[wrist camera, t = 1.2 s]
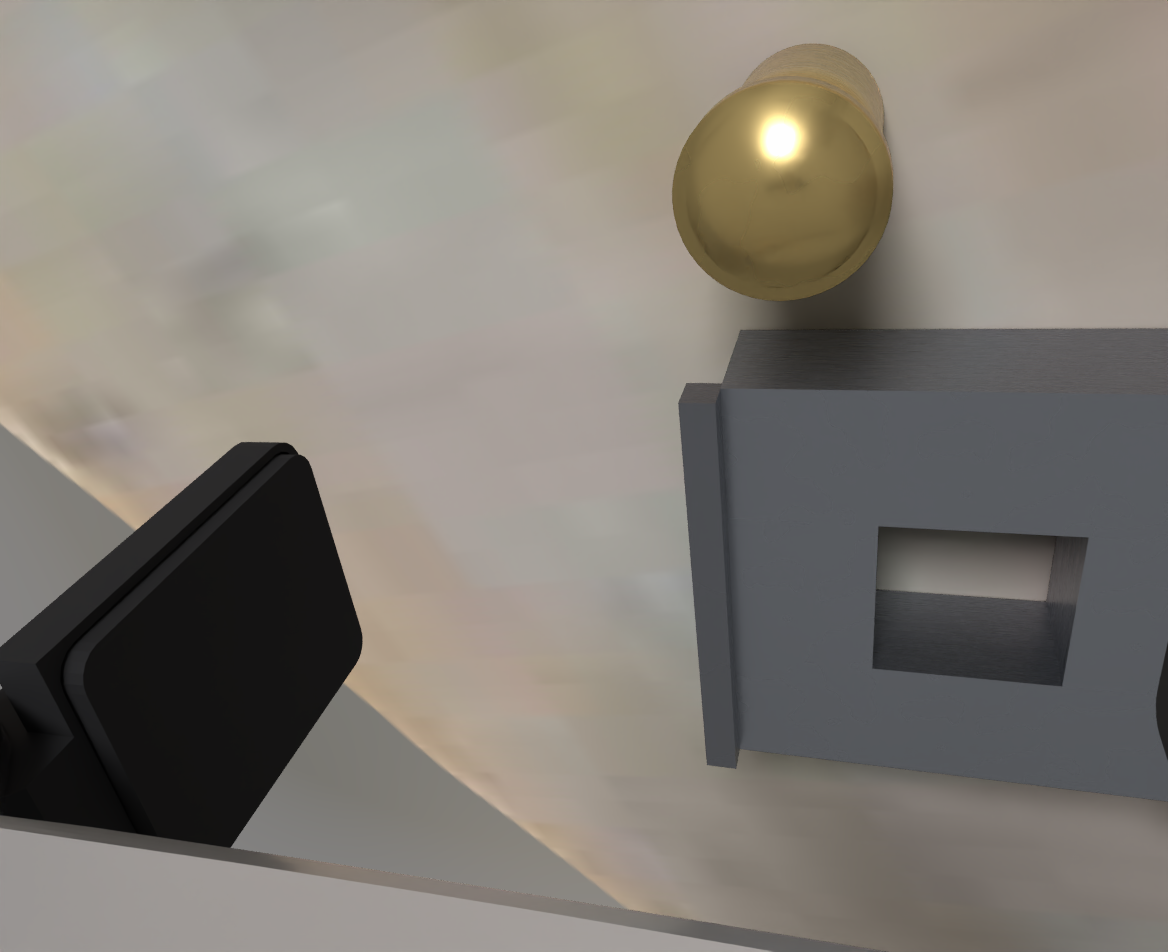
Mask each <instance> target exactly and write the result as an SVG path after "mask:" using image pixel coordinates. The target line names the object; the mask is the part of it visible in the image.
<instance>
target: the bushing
mask: <svg viewBox="0 0 1168 952" xmlns="http://www.w3.org/2000/svg"><path fill="white" fill-rule="evenodd" d="M883 123H884V108H883V102H882V97H881V94H880V91H879V88H878V86H877V83H876V81H875V79H874V78H873V76H872V75H871V73H870V72H869V70H868V69H867V68H866V67H865V66H864V65H863V64H862V63H861V62H860V61H859V60H858V59H857V58H855V57H854V56H852V55H851V54H849V53H847V52H846V51H844V50H841V49H839V48H837V47H833V46H829V45H824V44H802V45H796V46H793V47H789V48H786V49H784V50H782V51H779V52H777V53H775V54H774V55H772V56H771V57H769V58H767V59H766V60H765V61H764V62H762V63H761V64H760V65H759V66H758V67H757V68H756V69H755V70H754V71H753V72H752V73H751V75H750V76H749V77H748V79H747V80H746V82H745V83H744V84H743V86H742V87H741V88H739V89H737V90H735V91H734V92H732V93H730V94H729V95H727V96H726V97H724V98H723V99H722V100H721V101H719V102H718V103H717V104H716V105H715V106H714V107H713V108H712V109H711V110H710V111H709V112H708V113H707V114H706V115H705V116H704V117H703V119H702V120H701V121H700V123H699V124H698V125H697V127H696V128H695V129H694V131H693V132H692V133H691V135H690V136H689V138H688V140H687V142H686V144H685V145H684V147H683V149H682V152H681V154H680V157H679V159H678V162H677V166H676V170H675V174H674V180H673V188H672V201H673V210H674V217H675V221H676V224H677V228H678V231H679V233H680V236H681V238H682V241H683V243H684V244H685V246H686V248H687V250H688V251H689V253H690V255H691V256H692V257H693V258H694V260H695V261H696V262H697V264H698V265H699V266H700V267H701V268H702V269H703V270H704V271H705V272H706V273H707V274H708V275H710V276H711V277H712V278H713V279H715V280H716V281H717V282H719V283H720V284H722V285H724V286H725V287H727V288H729V289H731V290H733V291H735V292H738V293H740V294H743V295H746V296H749V297H752V298H757V299H763V300H772V301H786V300H796V299H802V298H807V297H810V296H813V295H816V294H819V293H822V292H824V291H826V290H828V289H831V288H833V287H835V286H836V285H838V284H839V283H841V282H843V281H844V280H846V279H847V278H848V277H849V276H851V275H852V274H853V273H854V272H856V271H857V270H858V269H859V268H860V267H861V266H862V265H863V263H864V262H865V261H866V260H867V259H868V258H869V256H870V255H871V254H872V252H873V251H874V250H875V248H876V246H877V244H878V243H879V241H880V239H881V237H882V235H883V233H884V230H885V228H886V225H887V223H888V219H889V215H890V211H891V206H892V197H893V166H892V160H891V154H890V151H889V148H888V144H887V141H886V139H885V137H884V135H883Z"/></svg>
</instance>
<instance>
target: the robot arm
mask: <svg viewBox="0 0 1168 952" xmlns="http://www.w3.org/2000/svg"><path fill="white" fill-rule="evenodd" d="M361 650H362V632H361V628H360V624H359V621H358V618H357V615H356V611H355V608H354V605H353V602H352V598H351V595H350V592H349V589H348V585H347V582H346V579H345V576H344V572H343V569H342V566H341V563H340V559H339V556H338V553H337V550H336V546H335V543H334V540H333V537H332V533H331V530H330V527H329V523H328V520H327V517H326V514H325V510H324V507H323V504H322V501H321V497H320V494H319V491H318V488H317V484H316V481H315V478H314V475H313V471H312V468H311V466H310V464H309V461H308V460H307V459H306V458H305V457H304V456H302V455H298V452H297V451H296V450H295V449H294V447H293V446H291V445H289V444H288V443H270V442H241V443H239V444H237V445H236V446H234V447H233V448H232V449H231V450H229V451H228V452H227V453H226V454H225V455H224V456H222V457H221V458H220V459H219V460H218V461H217V462H215V463H214V464H213V465H212V466H211V467H210V468H208V469H207V470H206V471H205V472H204V473H203V474H201V475H200V476H199V477H198V478H197V479H196V480H194V481H193V482H192V483H191V484H190V485H189V486H187V487H186V488H185V489H184V490H183V491H182V492H180V493H179V494H178V495H177V496H176V497H175V498H173V499H172V500H171V501H170V502H169V503H168V504H166V505H165V506H164V507H163V508H162V509H161V510H159V511H158V512H157V513H156V514H155V515H154V516H152V517H151V518H150V519H149V520H148V521H147V522H145V523H144V524H143V525H142V526H141V527H140V528H139V529H137V530H136V531H135V532H134V533H133V534H132V535H131V536H129V537H128V538H127V539H126V540H125V541H124V542H122V543H121V544H120V545H119V546H118V547H116V548H115V549H114V550H113V551H112V552H111V553H109V554H108V555H107V556H106V557H105V558H104V559H102V560H101V561H100V562H99V563H98V564H97V565H95V566H94V567H93V568H92V569H91V570H90V571H88V572H87V573H86V574H85V575H84V576H83V577H81V578H80V579H79V580H78V581H77V582H76V583H75V584H73V585H72V586H71V587H70V588H69V589H67V590H66V591H65V592H64V593H63V594H62V595H60V596H59V597H58V598H57V599H56V600H55V601H53V603H51V604H50V605H49V606H48V607H46V608H45V609H44V610H43V611H42V612H41V613H39V614H38V615H37V616H36V617H35V618H34V619H33V620H31V621H30V622H29V623H28V624H27V625H25V626H24V627H23V628H22V629H21V630H20V631H18V632H17V633H16V634H15V635H14V636H13V637H11V638H10V639H9V640H8V641H7V642H6V643H4V644H3V645H2V646H1V647H0V684H1V686H2V689H1V690H0V952H886V951H880V950H874V949H868V948H862V947H855V946H849V945H843V944H837V943H831V942H825V941H819V940H812V939H806V938H800V937H794V936H788V935H782V934H775V933H769V932H763V931H757V930H751V929H745V928H738V927H732V926H726V925H720V924H714V923H708V922H701V921H695V920H689V919H683V918H677V917H671V916H664V915H658V914H652V913H646V912H640V911H633V910H627V909H621V908H614V907H608V906H602V905H595V904H589V903H582V902H576V901H569V900H563V899H557V898H551V897H544V896H538V895H532V894H525V893H518V892H513V891H506V890H500V889H494V888H487V887H481V886H474V885H468V884H461V883H455V882H448V881H442V880H436V879H430V878H423V877H416V876H410V875H404V874H397V873H390V872H384V871H378V870H372V869H365V868H359V867H352V866H346V865H339V864H333V863H326V862H320V861H314V860H306V859H300V858H293V857H287V856H280V855H273V854H267V853H260V852H253V851H247V850H240V849H234V848H230V847H231V846H232V845H233V843H234V842H235V840H236V839H237V837H238V836H239V834H240V833H241V831H242V830H243V828H244V827H245V826H246V824H247V822H248V821H249V820H250V818H251V817H252V815H253V814H254V812H255V811H256V809H257V808H258V807H259V805H260V804H261V802H262V801H263V799H264V798H265V796H266V795H267V793H268V792H269V790H270V789H271V788H272V786H273V784H274V783H275V782H276V780H277V779H278V777H279V776H280V774H281V773H282V771H283V770H284V768H285V767H286V766H287V764H288V763H289V761H290V759H291V758H292V757H293V755H294V754H295V752H296V751H297V749H298V748H299V747H300V745H301V743H302V742H303V741H304V739H305V738H306V736H307V735H308V733H309V732H310V730H311V729H312V728H313V726H314V724H315V723H316V722H317V720H318V719H319V717H320V716H321V714H322V713H323V711H324V710H325V708H326V707H327V706H328V704H329V703H330V701H331V700H332V698H333V697H334V695H335V694H336V692H337V691H338V690H339V688H340V687H341V685H342V684H343V682H344V681H345V679H346V678H347V676H348V675H349V673H350V672H351V671H352V669H353V668H354V666H355V665H356V663H357V661H358V659H359V657H360V654H361ZM1156 719H1157V727H1158V731H1159V735H1160V738H1161V741H1162V744H1163V747H1164V751H1165V754H1166V757H1167V760H1168V643H1167V648H1166V652H1165V657H1164V662H1163V666H1162V671H1161V676H1160V680H1159V685H1158V690H1157V696H1156Z"/></svg>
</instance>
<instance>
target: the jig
mask: <svg viewBox="0 0 1168 952" xmlns="http://www.w3.org/2000/svg"><path fill="white" fill-rule="evenodd" d="M678 404H679V417H680V430H681V442H682V455H683V467H684V480H685V493H686V505H687V518H688V531H689V543H690V556H691V568H692V581H693V594H694V606H695V619H696V632H697V644H698V657H699V669H700V682H701V695H702V707H703V720H704V733H705V745H706V758H707V765H712V766H720V767H727V768H735V769H736V767H737V761H738V756H739V751H740V749H745V750H753V751H762V752H770V753H778V754H786V755H794V756H802V757H810V758H818V759H827V760H835V761H843V762H851V763H859V764H867V765H875V766H884V767H892V768H900V769H908V770H916V771H924V772H932V773H940V774H949V775H957V776H965V777H973V778H981V779H989V780H997V781H1006V782H1014V783H1022V784H1030V785H1038V786H1046V787H1054V788H1062V789H1071V790H1079V791H1087V792H1095V793H1103V794H1111V795H1119V796H1127V797H1136V798H1144V799H1152V800H1160V801H1168V760H1167V757H1166V754H1165V751H1164V747H1163V744H1162V741H1161V738H1160V735H1159V731H1158V727H1157V719H1156V696H1157V690H1158V685H1159V680H1160V676H1161V671H1162V666H1163V662H1164V657H1165V652H1166V648H1167V643H1168V329H917V330H741V331H740V334H739V336H738V339H737V342H736V345H735V348H734V351H733V354H732V357H731V359H730V362H729V365H728V368H727V371H726V374H725V377H724V380H723V383H722V384H714V383H686V386H685V388H684V391H683V393H682V395H681V398H680V400H679V403H678ZM878 526H883V527H901V528H920V529H939V530H958V531H976V532H995V533H1014V534H1033V535H1051V536H1057V538H1056V544H1055V550H1054V556H1053V563H1052V569H1051V575H1050V582H1049V588H1048V594H1047V601H1046V602H1041V601H1027V600H1013V599H999V598H985V597H971V596H957V595H943V594H929V593H915V592H901V591H887V590H876V571H877V548H878Z"/></svg>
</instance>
